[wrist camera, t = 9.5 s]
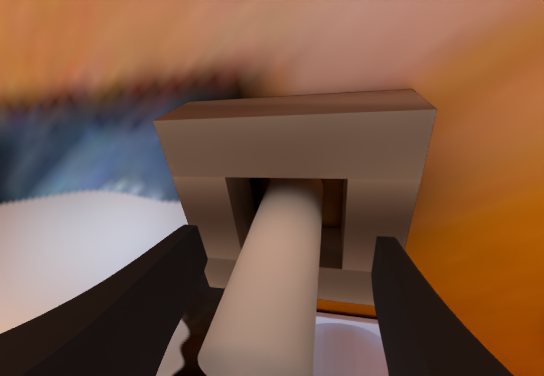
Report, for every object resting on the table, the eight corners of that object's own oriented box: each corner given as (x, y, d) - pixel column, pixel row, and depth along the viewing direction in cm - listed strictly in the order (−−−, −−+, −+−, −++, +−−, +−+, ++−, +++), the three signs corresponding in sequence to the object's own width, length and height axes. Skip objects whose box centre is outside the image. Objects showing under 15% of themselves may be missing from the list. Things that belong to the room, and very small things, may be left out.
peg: (323, 212, 14) (312, 411, 7) (271, 210, 15) (211, 390, 8) (323, 165, 13) (310, 355, 5) (266, 164, 14) (184, 335, 6)
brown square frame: (381, 262, 16) (390, 307, 13) (227, 249, 18) (209, 286, 15) (412, 89, 10) (437, 109, 8) (188, 101, 13) (152, 121, 10)
